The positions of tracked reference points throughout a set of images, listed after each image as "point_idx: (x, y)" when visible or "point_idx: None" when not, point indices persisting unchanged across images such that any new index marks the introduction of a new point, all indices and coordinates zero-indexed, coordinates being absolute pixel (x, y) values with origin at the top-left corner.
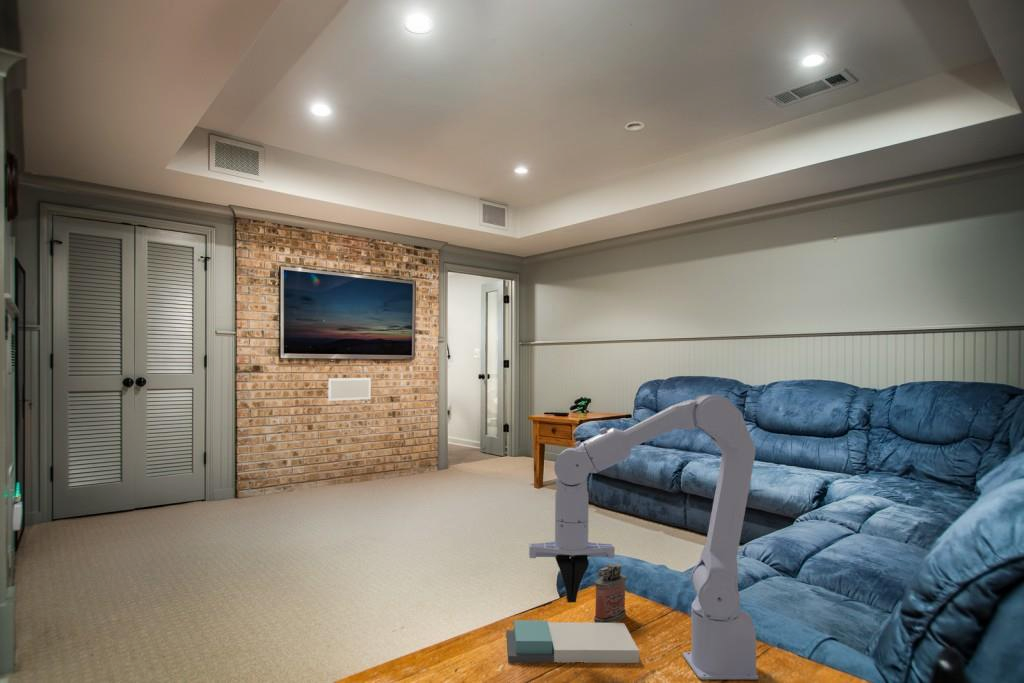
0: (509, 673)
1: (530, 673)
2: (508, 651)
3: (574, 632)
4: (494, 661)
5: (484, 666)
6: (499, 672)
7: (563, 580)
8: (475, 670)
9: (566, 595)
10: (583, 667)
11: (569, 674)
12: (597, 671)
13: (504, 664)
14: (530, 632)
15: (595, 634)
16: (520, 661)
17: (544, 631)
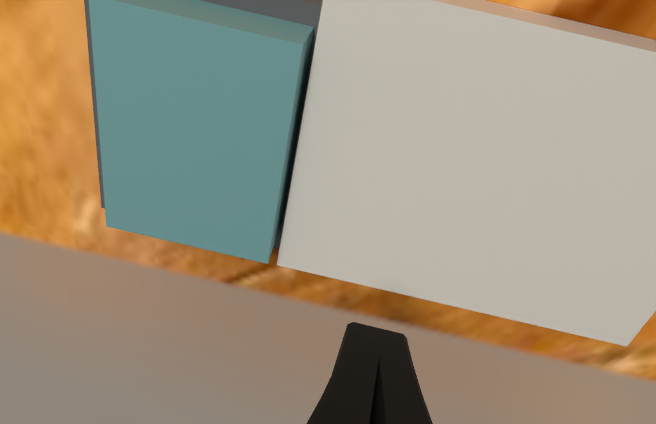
0: (119, 254)
1: (189, 270)
2: (101, 174)
3: (435, 144)
4: (61, 174)
5: (29, 197)
6: (86, 242)
7: (311, 417)
8: (3, 213)
9: (339, 356)
10: None
11: (317, 304)
12: (420, 313)
13: (100, 201)
14: (178, 168)
15: (535, 189)
16: None
17: (251, 175)
